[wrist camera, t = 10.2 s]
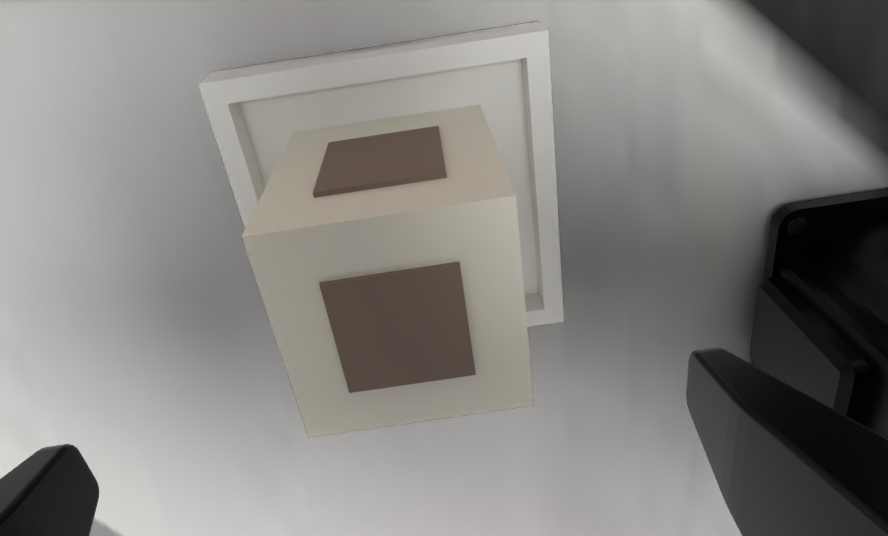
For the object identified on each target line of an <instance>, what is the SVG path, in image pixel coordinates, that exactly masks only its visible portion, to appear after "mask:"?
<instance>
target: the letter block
mask: <svg viewBox="0 0 888 536" xmlns="http://www.w3.org/2000/svg"><path fill="white" fill-rule="evenodd" d="M241 237H242V240H243V243H244V246H245V249H246V252H247V255H248V258H249V261H250V264H251V267H252V270H253V273H254V276H255V279H256V282H257V285H258V288H259V291H260V294H261V297H262V300H263V303H264V306H265V309H266V312H267V315H268V318H269V321H270V324H271V327H272V330H273V333H274V336H275V339H276V342H277V345H278V348H279V351H280V354H281V357H282V360H283V363H284V366H285V369H286V372H287V375H288V378H289V381H290V384H291V387H292V390H293V393H294V396H295V399H296V402H297V405H298V408H299V411H300V414H301V417H302V420H303V423H304V426H305V429H306V432H307V435H308V438H310V437H317V436H324V435H331V434H338V433H345V432H352V431H359V430H366V429H373V428H380V427H387V426H394V425H401V424H408V423H415V422H422V421H429V420H436V419H443V418H450V417H457V416H464V415H471V414H478V413H485V412H492V411H499V410H506V409H513V408H520V407H527V406H534V397H533V385H532V374H531V362H530V351H529V340H528V328H527V317H526V305H525V294H524V283H523V271H522V260H521V248H520V237H519V226H518V214H517V203H516V195H515V192H514V190H513V187H512V185H511V182H510V179H509V177H508V174H507V172H506V169H505V167H504V164H503V162H502V159H501V156H500V154H499V151H498V149H497V146H496V144H495V141H494V139H493V136H492V133H491V131H490V128H489V126H488V123H487V121H486V118H485V116H484V113H483V111H482V108H481V105H480V104H478V105H471V106H465V107H458V108H451V109H445V110H438V111H432V112H425V113H419V114H412V115H406V116H399V117H392V118H386V119H379V120H373V121H366V122H360V123H353V124H346V125H340V126H333V127H327V128H320V129H314V130H307V131H301V132H294V133H292V135H291V137H290V139H289V141H288V143H287V145H286V147H285V149H284V151H283V153H282V155H281V157H280V159H279V161H278V163H277V165H276V167H275V169H274V171H273V173H272V175H271V177H270V179H269V182H268V184H267V186H266V188H265V190H264V192H263V194H262V196H261V198H260V200H259V202H258V204H257V206H256V208H255V210H254V212H253V214H252V216H251V218H250V220H249V222H248V224H247V226H246V228H245V230H244V232H243V234H242V236H241Z"/></svg>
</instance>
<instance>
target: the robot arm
mask: <svg viewBox="0 0 888 536" xmlns="http://www.w3.org/2000/svg"><path fill="white" fill-rule="evenodd" d="M796 218H799V219H798V221H797V223H796V224H795V225H794V226H793V227H791V228H787V227H788V225H789V223H790V222H791V221H792V220H793V219H796ZM750 355H751V357H752V358H753V361H752V364H750V363H748V362H746V361H745V360H743V359H741V358H739V357H737V356H736V355H734V354H732V353H730V352H728V351H726V350H724V349H722V348H710V349H703V350H696V351H694V352H692V353H691V355H690V357H689V363H688V378H687V392H686V397H687V404H688V408H689V411H690V414H691V417H692V419H693V422H694V424H695V427H696V429H697V432H698V434H699V437H700V439H701V442H702V445H703V447H704V450H705V452H706V455H707V457H708V460H709V462H710V465H711V467H712V470H713V472H714V475H715V478H716V480H717V483H718V485H719V488H720V490H721V493H722V495H723V497H724V500H725V502H726V504H727V507H728V509H729V511H730V513H731V515H732V517H733V519H734V521H735V523H736V525H737V526H738V528H739V530H740V532H741V534H742V536H888V189H884V190H877V191H871V192H864V193H857V194H850V195H844V196H837V197H830V198H823V199H817V200H810V201H803V202H796V203H791V204H788V205H785V206H783V207H782V208H780V209H779V210H777V212H776V213H775V214H774V216H773V218H772V221H771V225H770V233H769V240H768V248H767V255H766V263H765V270H764V278H763V279H762V281H761V283H760V284H759V286H758V289H757V297H756V304H755V312H754V320H753V328H752V336H751V344H750ZM98 498H99V487H98V483H97V480H96V479H95V477H94V475H93V473H92V472H91V470H90V468H89V467H88V465H87V463H86V462H85V460H84V458H83V457H82V455H81V453H80V452H79V450H78V449H77V448H76V447H75V446H73V445H70V444H64V445H57V446H51V447H45V448H42V449H40V450H38V451H37V452H36V453H34V454H33V455H32V456H30V457H29V458H28V459H26V460H25V461H24V462H22V463H21V464H20V465H18V466H17V467H16V468H14V469H13V470H12V471H10V472H9V473H8V474H6V475H5V476H4V477H2V478H1V479H0V536H89V535H90V531H91V527H92V523H93V519H94V515H95V511H96V507H97V503H98Z"/></svg>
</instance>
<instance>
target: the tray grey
mask: <svg viewBox="0 0 888 536" xmlns="http://www.w3.org/2000/svg"><path fill="white" fill-rule="evenodd" d="M198 87H199V90H200V93H201V96H202V99H203V102H204V105H205V108H206V112H207V115H208V118H209V121H210V124H211V127H212V130H213V133H214V136H215V139H216V142H217V145H218V148H219V151H220V154H221V157H222V160H223V163H224V166H225V169H226V172H227V175H228V179H229V182H230V185H231V188H232V191H233V194H234V197H235V200H236V203H237V206H238V209H239V212H240V215H241V218H242V221H243V224H244V227H245V228H246V226H247V224H248V222H249V220H250V218H251V216H252V214H253V212H254V210H255V208H256V206H257V204H258V202H259V200H260V198H261V196H262V194H263V192H264V190H265V188H266V186H267V184H268V182H269V179H270V177H271V175H272V173H273V171H274V169H275V167H276V165H277V163H278V161H279V159H280V157H281V155H282V153H283V151H284V149H285V147H286V145H287V143H288V141H289V139H290V137H291V135H292V133H294V132H301V131H307V130H314V129H320V128H327V127H333V126H340V125H346V124H353V123H360V122H366V121H373V120H379V119H386V118H392V117H399V116H406V115H412V114H419V113H425V112H432V111H438V110H445V109H451V108H458V107H465V106H471V105H478V104H480V105H481V108H482V111H483V113H484V116H485V118H486V121H487V123H488V126H489V128H490V131H491V133H492V136H493V139H494V141H495V144H496V146H497V149H498V151H499V154H500V156H501V159H502V162H503V164H504V167H505V169H506V172H507V174H508V177H509V179H510V182H511V185H512V187H513V190H514V192H515V195H516V203H517V214H518V226H519V237H520V248H521V260H522V271H523V283H524V294H525V305H526V317H527V327H532V326H538V325H545V324H552V323H559V322H564V314H563V295H562V277H561V258H560V239H559V220H558V201H557V182H556V163H555V145H554V126H553V107H552V88H551V69H550V50H549V31H548V29H547V28H545V27H544V26H543V25H542V24H541V23H539V22H538V21H537V22H530V23H524V24H517V25H511V26H504V27H498V28H492V29H485V30H479V31H472V32H466V33H459V34H453V35H446V36H440V37H434V38H427V39H421V40H414V41H408V42H401V43H395V44H388V45H382V46H376V47H369V48H363V49H356V50H350V51H343V52H337V53H330V54H324V55H318V56H311V57H305V58H298V59H292V60H285V61H279V62H272V63H266V64H260V65H253V66H247V67H240V68H234V69H227V70H221V71H214V72H211V73H210V74H209V75H208V76H207V77H206V78H204V79H203V80H202V81H201V82H200V83H199V84H198Z"/></svg>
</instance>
